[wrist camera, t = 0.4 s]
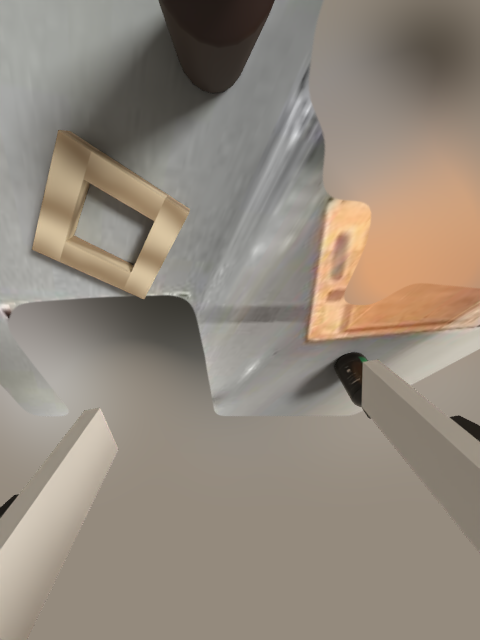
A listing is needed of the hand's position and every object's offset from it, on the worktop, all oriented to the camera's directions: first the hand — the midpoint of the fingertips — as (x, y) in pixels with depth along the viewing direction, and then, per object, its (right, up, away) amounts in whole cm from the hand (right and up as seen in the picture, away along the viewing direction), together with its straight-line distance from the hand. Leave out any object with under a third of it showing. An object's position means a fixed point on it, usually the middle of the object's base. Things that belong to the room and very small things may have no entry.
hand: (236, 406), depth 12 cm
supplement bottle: (+24, -5, +41) cm, 47 cm away
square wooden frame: (-16, +17, +19) cm, 30 cm away
